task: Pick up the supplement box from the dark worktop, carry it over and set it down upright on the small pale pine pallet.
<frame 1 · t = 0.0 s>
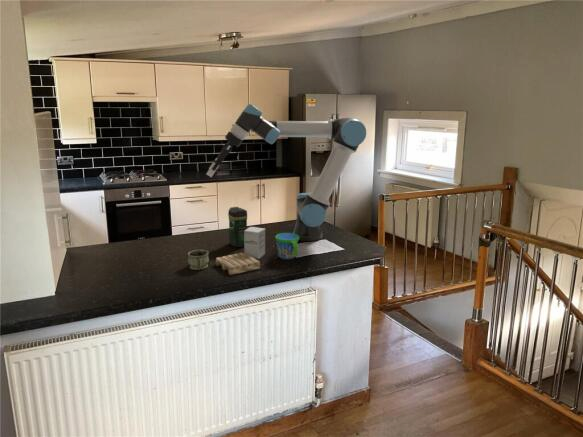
hand: (209, 173, 214), 36 cm above the worktop, fingers open, 13 cm apart
vessel: (198, 267, 198), on the worktop
pallet: (237, 266, 199), on the worktop
supplement box: (254, 256, 212), on the worktop
snack cup: (287, 257, 210), on the worktop
coffee jar: (238, 245, 227), on the worktop
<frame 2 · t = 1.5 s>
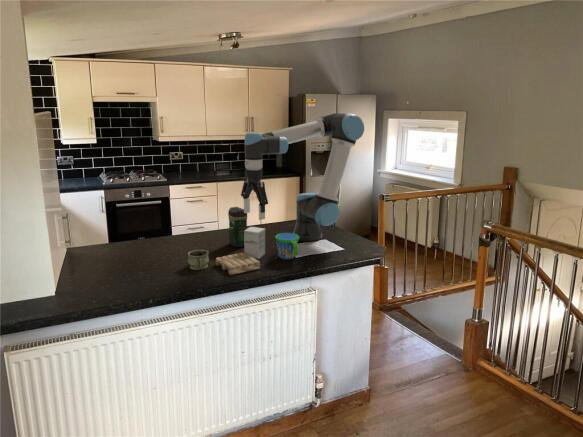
hand: (254, 216, 207), 19 cm above the worktop, fingers open, 13 cm apart
nothing on the worktop moved.
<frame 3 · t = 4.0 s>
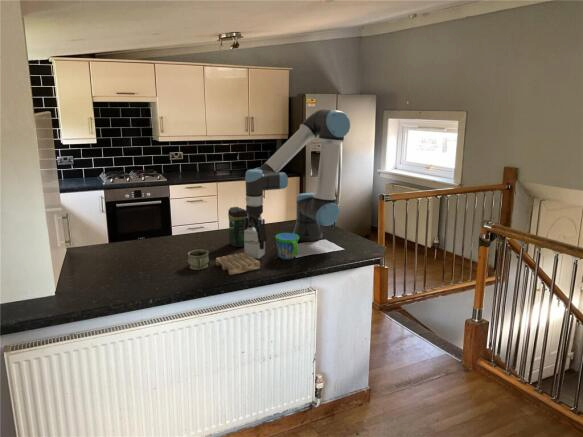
hand: (254, 251, 212), 2 cm above the worktop, fingers closed on supplement box, 10 cm apart
supplement box: (254, 255, 212), on the worktop, touching gripper
everything else where it was.
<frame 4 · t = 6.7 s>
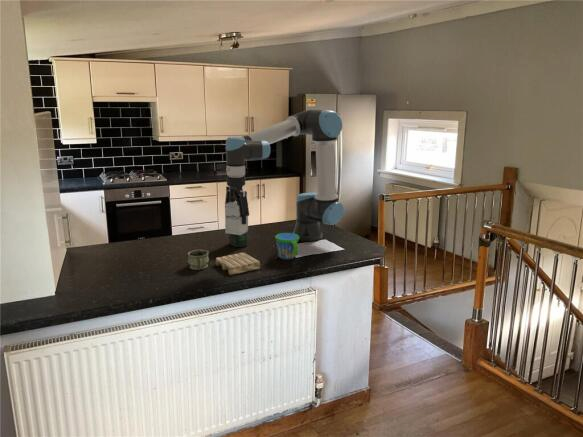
hand: (236, 228, 194), 17 cm above the worktop, fingers closed on supplement box, 10 cm apart
supplement box: (236, 232, 195), point 15 cm above the worktop, touching gripper
everything else where it was.
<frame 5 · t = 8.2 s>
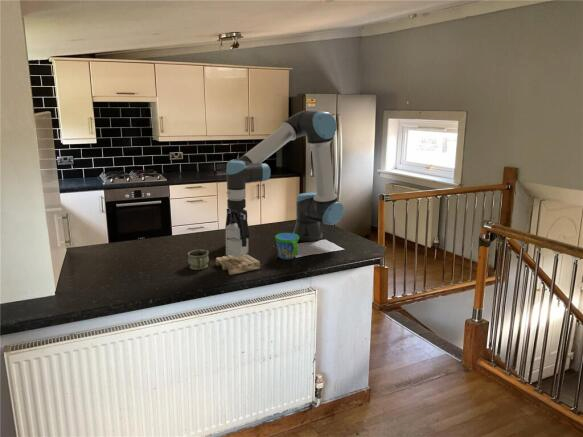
hand: (237, 249, 197), 7 cm above the worktop, fingers closed on supplement box, 10 cm apart
supplement box: (237, 254, 197), point 6 cm above the worktop, touching gripper
everything else where it was.
when the fingers open (6 cm above the worktop, at t = 9.5 s): supplement box drops 1 cm, resting on pallet.
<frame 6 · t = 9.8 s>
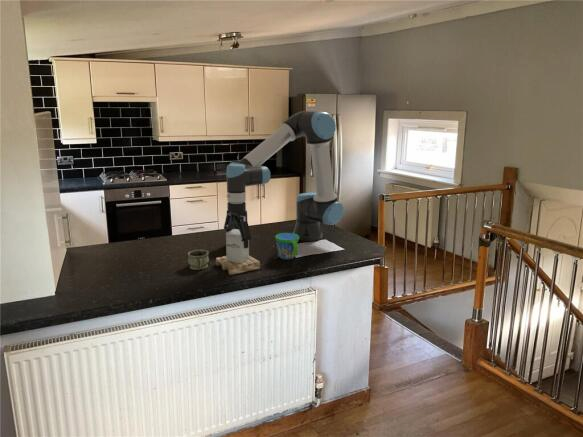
hand: (237, 250, 197), 7 cm above the worktop, fingers open, 13 cm apart
supplement box: (237, 260, 198), point 3 cm above the worktop, touching pallet
everything else where it was.
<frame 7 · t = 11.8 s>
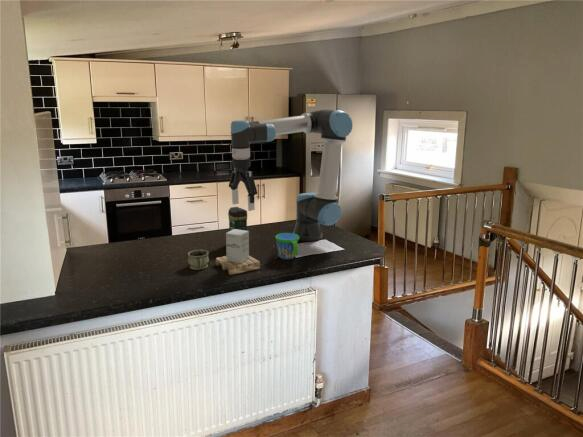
hand: (243, 207, 200), 24 cm above the worktop, fingers open, 13 cm apart
nothing on the worktop moved.
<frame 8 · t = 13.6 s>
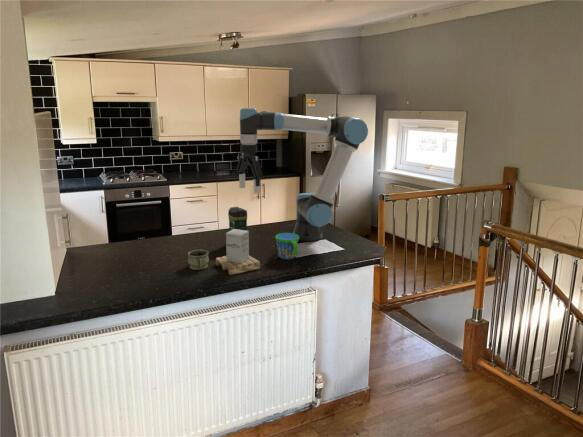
hand: (249, 190, 212), 29 cm above the worktop, fingers open, 13 cm apart
nothing on the worktop moved.
at the end: supplement box inside the target area on the pallet (0.2 cm from its centre), point 2.8 cm above the pallet's base; supplement box tilted 0°; the gripper is holding nothing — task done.
